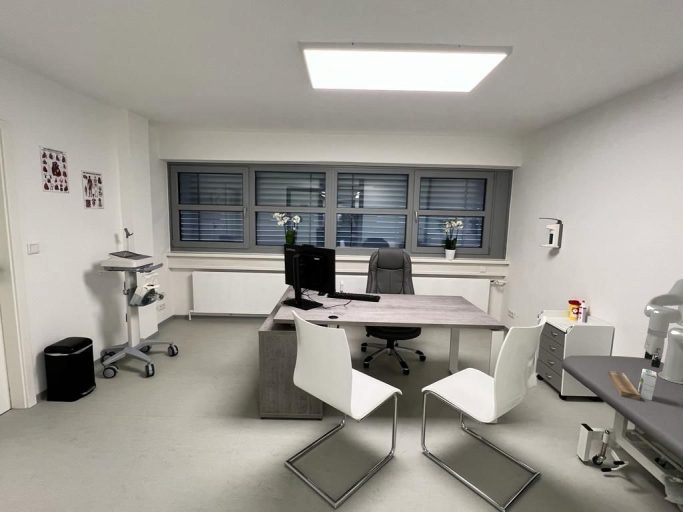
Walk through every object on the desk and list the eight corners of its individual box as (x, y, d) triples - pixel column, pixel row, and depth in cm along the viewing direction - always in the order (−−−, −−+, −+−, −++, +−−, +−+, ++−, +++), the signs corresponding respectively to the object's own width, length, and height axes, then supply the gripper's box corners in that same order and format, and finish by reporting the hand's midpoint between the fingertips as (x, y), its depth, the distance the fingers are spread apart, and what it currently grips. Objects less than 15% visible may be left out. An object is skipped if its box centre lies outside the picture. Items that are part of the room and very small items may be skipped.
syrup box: (637, 392, 185) (641, 368, 183) (651, 396, 181) (656, 371, 179) (637, 396, 180) (642, 371, 178) (652, 401, 177) (657, 375, 174)
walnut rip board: (624, 378, 200) (625, 373, 200) (639, 400, 177) (641, 395, 176) (607, 375, 203) (608, 370, 203) (620, 396, 180) (621, 390, 180)
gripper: (642, 325, 184) (636, 355, 187) (654, 337, 169) (648, 368, 172) (659, 328, 181) (654, 357, 184) (674, 340, 166) (667, 372, 169)
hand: (651, 363), depth 178 cm, fingers open, 9 cm apart
